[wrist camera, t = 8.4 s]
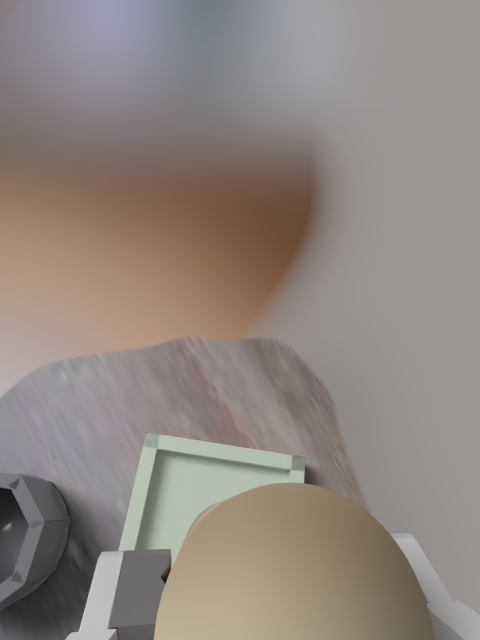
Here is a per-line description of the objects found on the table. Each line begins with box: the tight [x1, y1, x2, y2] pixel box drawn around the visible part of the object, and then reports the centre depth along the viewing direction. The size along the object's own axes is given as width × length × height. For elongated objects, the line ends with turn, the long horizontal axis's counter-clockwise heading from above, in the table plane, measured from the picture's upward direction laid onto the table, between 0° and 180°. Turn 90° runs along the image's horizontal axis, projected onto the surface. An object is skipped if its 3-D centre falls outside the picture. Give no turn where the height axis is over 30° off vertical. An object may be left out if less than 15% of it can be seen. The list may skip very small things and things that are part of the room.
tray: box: [119, 433, 305, 569], centre depth 28 cm, size 12×12×2 cm
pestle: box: [154, 482, 435, 640], centre depth 11 cm, size 4×4×12 cm
